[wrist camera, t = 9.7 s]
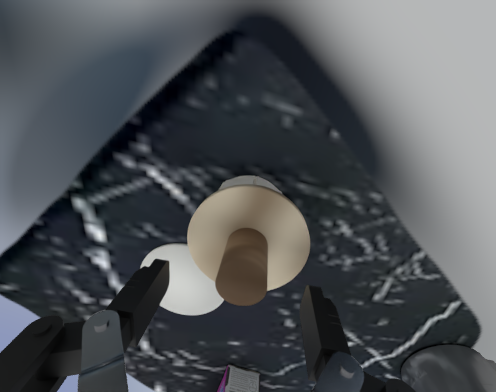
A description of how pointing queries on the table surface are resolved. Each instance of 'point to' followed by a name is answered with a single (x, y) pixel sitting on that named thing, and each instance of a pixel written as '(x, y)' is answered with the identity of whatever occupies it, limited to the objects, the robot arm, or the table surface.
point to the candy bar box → (239, 380)
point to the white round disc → (185, 282)
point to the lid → (248, 241)
